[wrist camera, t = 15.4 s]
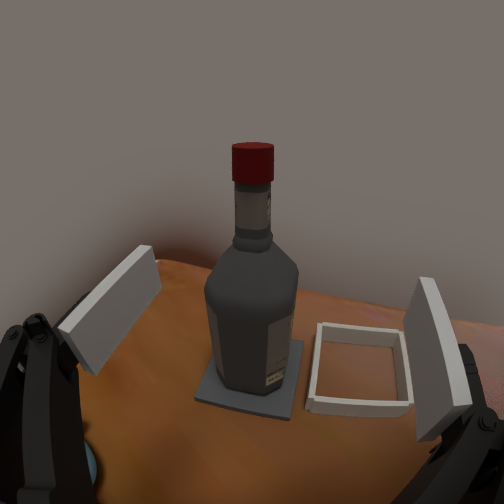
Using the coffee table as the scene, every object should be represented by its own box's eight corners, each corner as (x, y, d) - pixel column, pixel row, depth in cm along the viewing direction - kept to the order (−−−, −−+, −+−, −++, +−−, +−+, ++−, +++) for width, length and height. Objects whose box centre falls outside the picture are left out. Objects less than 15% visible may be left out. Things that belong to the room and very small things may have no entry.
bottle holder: (395, 344, 42) (402, 330, 40) (403, 417, 29) (414, 405, 28) (314, 336, 45) (317, 321, 43) (303, 412, 32) (307, 400, 31)
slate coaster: (303, 345, 43) (303, 341, 43) (289, 420, 31) (289, 417, 31) (225, 332, 46) (225, 327, 45) (194, 400, 34) (193, 396, 34)
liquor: (212, 386, 35) (179, 154, 20) (232, 340, 43) (220, 137, 28) (278, 400, 33) (302, 158, 18) (289, 350, 41) (309, 141, 26)
